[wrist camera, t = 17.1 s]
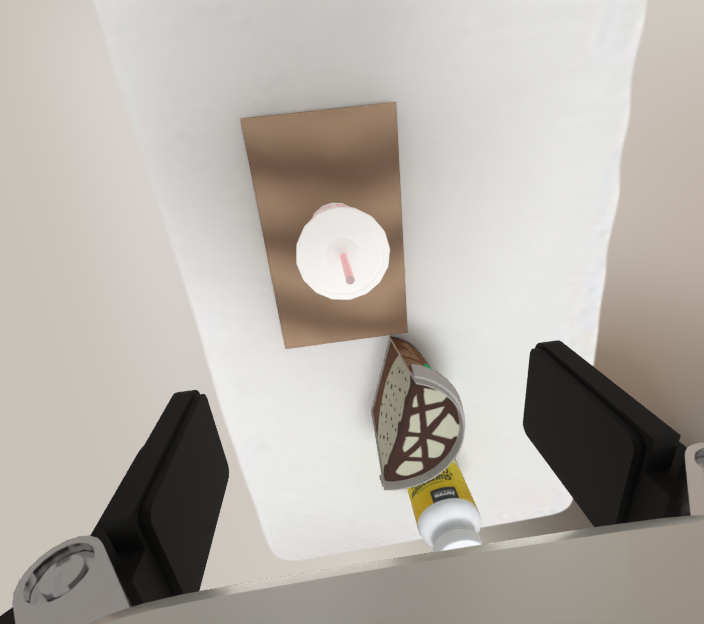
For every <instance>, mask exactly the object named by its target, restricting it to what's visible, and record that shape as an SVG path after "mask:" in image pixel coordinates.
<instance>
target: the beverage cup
mask: <svg viewBox="0 0 704 624" xmlns="http://www.w3.org/2000/svg"><path fill="white" fill-rule="evenodd" d="M389 254H390V247H389V244H388V241H387V237H386V234H385V231H384V230H383V229H382V228H381V226H380V225H379V224H378V223H377V222H376V221H375V219H374V218H373V217H372V216H370V215H368V214H366V213H364V212H362V211H360V210H358V209H356V208H352V207H349V206H347V205H345V204H343V203H330V204H327V205H324V206H322V207H321V208H320V209H318V210H317V211H316V212H315V213H314V215H313V217H312V219H311V220H310V221H309V222H308V223H307V224H306V225H305V226H304V228H303V231H302V233H301V235H300V238H299V240H298V242H297V245H296V264H297V266H298V268H299V271H300V273H301V276H302V278H303V280H304V281H305V282H306V283H307V284H308V285H309V286H310V287H311V288H312V289H313V290H314V291H315V292H316V293H318V294H321V295H323V296H326V297H328V298H330V299H340V300H351V299H353V298H356V297H359V296H362V295H365V294H367V293H368V292H369V291H370V290H372V289H373V288H374V287H375V286H376V285H377V284H378V283H380V281H381V279H382V277H383V276H384V274H385V272H386V270H387V268H388V264H389Z"/></svg>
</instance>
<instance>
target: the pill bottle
mask: <svg viewBox="0 0 704 624" xmlns="http://www.w3.org/2000/svg"><path fill="white" fill-rule="evenodd" d="M407 489H408V493H409V497H410V500H411V504H412V508H413V512H414V516H415V519H416V523H417V527H418V530H419V533H420V536H421V537H422V539H423V540H424V541H425V542H426V543H427V544H428V545H430V546H431V547H433V550H434V552H438V551H444V550H450V549H457V548H463V547H469V546H476V545H482V541H481V538H480V537H479V535H478V532H479V530H480V526H481V518H480V514H479V511H478V509H477V507H476V504H475V502H474V500H473V498H472V496H471V493H470V491H469V489H468V487H467V484H466V482H465V480H464V478H463V475H462V473H461V471H460V469H459V467H458V464H457V462H456V460H455V459H454V460H453V462H452V463H451V464H450V465H449V466H448V467H447V468H446V469H445V470H444V471H443V472H441V473H440V474H439V475H437V476H436V477H434V478H433V479H431V480H429V481H427V482H425V483H423V484H420V485H417V486H415V487H411V488H407Z"/></svg>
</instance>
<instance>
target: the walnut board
mask: <svg viewBox="0 0 704 624" xmlns="http://www.w3.org/2000/svg"><path fill="white" fill-rule="evenodd" d="M241 124H242V130H243V135H244V140H245V145H246V150H247V155H248V160H249V165H250V170H251V175H252V180H253V186H254V191H255V196H256V201H257V206H258V211H259V216H260V221H261V226H262V231H263V237H264V242H265V247H266V252H267V257H268V262H269V267H270V272H271V277H272V282H273V287H274V293H275V298H276V303H277V308H278V313H279V318H280V323H281V328H282V333H283V338H284V343H285V349H289V348H296V347H304V346H311V345H319V344H326V343H333V342H341V341H348V340H356V339H363V338H371V337H378V336H386V335H393V334H401V333H408V330H407V310H406V291H405V271H404V251H403V231H402V211H401V191H400V171H399V152H398V132H397V112H396V102H391V103H382V104H373V105H364V106H354V107H345V108H336V109H327V110H317V111H308V112H299V113H290V114H280V115H271V116H262V117H252V118H243V119H241ZM330 203H343V204H345V205H347V206H349V207H352V208H356V209H358V210H360V211H362V212H364V213H366V214H368V215H370V216H372V217H373V218H374V219H375V221H376V222H377V223H378V224H379V225H380V226H381V228H382V229H383V230H384V231H385V234H386V237H387V241H388V244H389V247H390V254H389V264H388V268H387V270H386V272H385V274H384V276H383V277H382V279H381V281H380V283H378V284H377V285H376V286H375V287H374V288H373V289H372V290H370V291H369V292H368V293H367V294H365V295H362V296H359V297H356V298H353V299H351V300H340V299H330V298H328V297H326V296H323V295H321V294H318V293H316V292H315V291H314V290H313V289H312V288H311V287H310V286H309V285H308V284H307V283H306V282H305V281H304V280H303V278H302V276H301V273H300V271H299V268H298V266H297V264H296V245H297V242H298V240H299V238H300V235H301V233H302V231H303V228H304V226H305V225H306V224H307V223H308V222H309V221H310V220H311V219H312V217H313V215H314V213H315V212H316V211H317V210H318V209H320V208H321V207H322V206H324V205H327V204H330Z"/></svg>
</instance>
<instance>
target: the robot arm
mask: <svg viewBox="0 0 704 624" xmlns="http://www.w3.org/2000/svg"><path fill="white" fill-rule="evenodd" d="M523 427H524V430H525V433H526V435H527V436H528V438H529V439H530V440H531V442H532V443H533V444H534V446H535V447H536V448H537V450H538V451H539V452H540V454H541V455H542V457H543V458H544V459H545V461H546V462H547V463H548V465H549V466H550V467H551V469H552V470H553V471H554V473H555V474H556V476H557V477H558V478H559V480H560V481H561V482H562V484H563V485H564V486H565V488H566V489H567V490H568V492H569V493H570V495H571V496H572V497H573V499H574V500H575V501H576V503H577V504H578V505H579V507H580V508H581V509H582V511H583V512H584V514H585V515H586V516H587V518H588V519H589V520H590V522H591V523H592V524H593V526H594V527H593V528H587V529H580V530H574V531H568V532H561V533H554V534H547V535H541V536H534V537H528V538H521V539H514V540H508V541H502V542H495V543H488V544H482V545H476V546H469V547H463V548H457V549H450V550H444V551H438V552H431V553H425V554H419V555H413V556H406V557H400V558H394V559H387V560H381V561H375V562H368V563H362V564H356V565H350V566H344V567H338V568H332V569H326V570H320V571H314V572H308V573H301V574H296V575H290V576H284V577H277V578H271V579H266V580H259V581H253V582H248V583H242V584H237V585H231V586H226V587H220V588H215V589H209V590H204V591H199V590H200V586H201V582H202V578H203V574H204V571H205V567H206V563H207V559H208V555H209V552H210V548H211V544H212V540H213V536H214V532H215V528H216V524H217V521H218V517H219V513H220V509H221V505H222V502H223V498H224V494H225V490H226V486H227V482H228V478H229V468H228V464H227V460H226V457H225V454H224V451H223V447H222V444H221V441H220V438H219V435H218V431H217V428H216V425H215V422H214V419H213V415H212V412H211V409H210V406H209V403H208V399H207V397H206V395H205V394H201V395H200V393H199V392H198V391H197V390H192V391H184V392H177V393H175V394H174V395H173V396H172V398H171V399H170V401H169V403H168V405H167V406H166V408H165V410H164V412H163V413H162V415H161V417H160V419H159V421H158V422H157V424H156V426H155V428H154V429H153V431H152V433H151V434H150V437H149V438H148V440H147V441H146V443H145V445H144V447H142V448H141V450H140V451H139V452H138V454H137V456H136V458H135V459H134V461H133V463H132V464H131V466H130V468H129V470H128V471H127V473H126V475H125V477H124V478H123V480H122V482H121V484H120V485H119V487H118V489H117V490H116V492H115V494H114V496H113V497H112V499H111V501H110V503H109V504H108V506H107V508H106V509H105V511H104V513H103V515H102V516H101V518H100V520H99V522H98V523H97V525H96V527H95V528H94V530H93V532H92V534H91V535H90V536H79V537H76V538H73V539H70V540H67V541H65V542H63V543H61V544H59V545H57V546H55V547H53V548H52V549H51V550H49V551H48V552H46V553H45V554H44V555H42V556H41V557H40V558H39V559H38V560H37V561H36V562H35V563H34V564H33V565H32V566H30V567H29V568H28V570H27V571H26V572H25V574H24V575H23V576H22V578H21V579H20V580H19V582H18V585H17V587H16V589H15V591H14V595H13V607H12V608H11V609H10V610H8V611H7V612H5V613H4V614H3V615H1V616H0V624H704V443H697V444H693V445H691V446H690V447H688V448H686V447H685V446H684V445H683V444H681V443H680V442H679V439H680V434H678V433H677V432H676V431H674V430H673V429H672V428H671V427H669V426H668V425H667V424H666V423H664V422H663V421H662V420H660V419H659V418H658V417H657V416H655V415H654V414H653V413H652V412H650V411H649V410H647V409H646V408H645V407H644V406H643V405H641V404H640V403H639V402H638V401H636V400H635V399H634V398H632V397H631V396H630V395H628V394H627V393H626V392H625V391H624V390H622V389H621V388H620V387H618V386H617V385H616V384H614V383H613V382H612V381H611V380H609V379H608V378H607V377H606V376H604V375H603V374H602V373H601V372H599V371H598V370H597V369H596V368H594V367H593V366H592V365H591V364H589V363H588V362H587V361H585V360H584V359H583V358H582V357H580V356H579V355H578V354H577V353H575V352H574V351H573V350H571V349H570V348H569V347H568V346H566V345H565V344H564V343H563V342H561V341H550V342H542V343H538V344H537V345H536V347H535V349H532V350H531V352H530V358H529V368H528V378H527V388H526V398H525V408H524V418H523Z"/></svg>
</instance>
